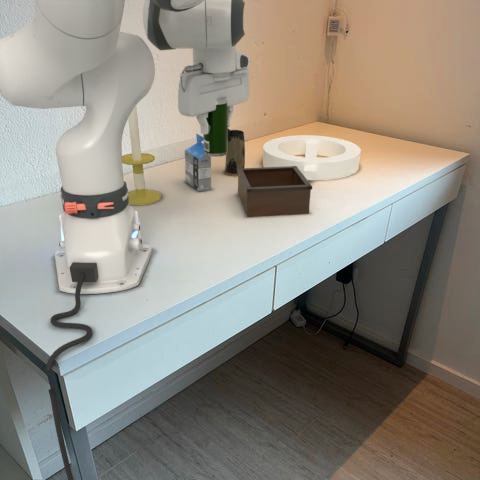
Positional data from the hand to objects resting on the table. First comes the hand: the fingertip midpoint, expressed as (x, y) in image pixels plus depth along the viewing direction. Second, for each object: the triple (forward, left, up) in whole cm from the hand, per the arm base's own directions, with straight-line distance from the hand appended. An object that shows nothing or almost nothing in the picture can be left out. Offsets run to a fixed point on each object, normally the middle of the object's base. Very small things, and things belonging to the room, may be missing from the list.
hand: (215, 130), depth 115 cm
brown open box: (0, -14, -18) cm, 22 cm away
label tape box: (+16, +3, -18) cm, 24 cm away
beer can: (0, 0, -5) cm, 5 cm away
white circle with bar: (+30, -31, -18) cm, 47 cm away
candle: (+9, +18, -18) cm, 27 cm away
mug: (+26, -7, -18) cm, 32 cm away
